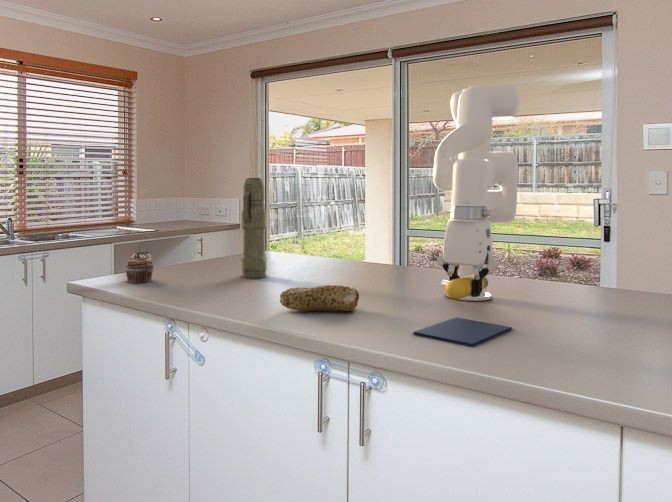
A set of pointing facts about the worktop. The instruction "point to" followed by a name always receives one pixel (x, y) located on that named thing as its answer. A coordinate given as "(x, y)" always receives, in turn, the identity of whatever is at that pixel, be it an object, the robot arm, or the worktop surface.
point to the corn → (462, 287)
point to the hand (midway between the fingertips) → (465, 293)
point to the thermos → (253, 229)
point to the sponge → (320, 298)
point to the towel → (463, 331)
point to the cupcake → (139, 268)
